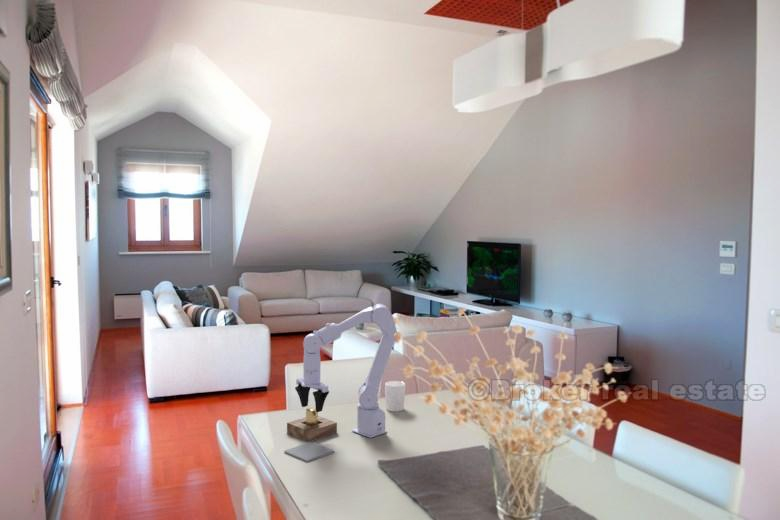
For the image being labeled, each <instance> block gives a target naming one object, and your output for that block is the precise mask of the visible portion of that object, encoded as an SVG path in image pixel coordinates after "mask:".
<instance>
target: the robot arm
mask: <svg viewBox="0 0 780 520" xmlns="http://www.w3.org/2000/svg"><path fill="white" fill-rule="evenodd" d="M372 321H373V322H374V324H375V325H376V326H377V327H378V328H379V330H380V331H381V333H382V334H381V337H380V341H379V343H378V345H377V346H378V347H377V349H376V352H375V355H374V358H373V359H372V362H371V366H370V368H369V371H368V373H367V376H366V378H365V379H364V383H362V385H361V386H360V387H358V397H359V398H358V400H359V401H358V403H357V408H356V409H357V410H356V411H357V419H356V420H357V421H356V422H357V423H356V425H357V426H356V428H353V429H351V432H353V433H355V434H359V435H361V436H363V437H364V436H365V437H367V438H370V439H371V438H376V437H377V436H380V435H383V434H386V433H387V432H388V431H387V430H386V413H385V411H384V410H383V409H381V408H380V406H379V403H378V400H379V397H378V393H379V390H380V384H381V380H382V378H383V375H384V373H385V369H386V367H387V365H388V364H387V363H388V361H389V359H390V355H391V353H392V351H393V350H392V349H393V347H394V344H395V342H396V339H394V334H395V333H397V334H398V331H397V327H396V326H397V325H396V323H395V319H394V316H393V314H392V311H390V309H389V308H388V307H387V305H386V304H384V303H375V304H374V305H373V306H369V307H366V308H364V309H362V310H361V311H359V312H356V314H354V315H352V316H350V317H348V318H347V319H345V320H343V321H341V322H339V323H334V322H332V323H330V322H327V323H326V324H325V326H324V327H321V328H320V329H318V330H313V331H312V333H309V334H307V335H306V336H305V337H304V339H303V342H302V346H303V349H304V350H303V367H302V368H303V377H299V378H296V381H295V382H296V385H297V386H295V388H294V390H295V391H296V392H297V395H298V398H299V401H300V405H301V407H302V408H305V407H308V405H309V395H310V390H311V389H314V390H315V391H312V395H313V397H314V402H315V405H314V406H315V408H316V412H318V413H319V412H322V411H323V408H324V405H325V401H326V399H327V396H328V395H329V393H330V391H329V385H327V384H325V383H324V382H322V381H321V355H320V354H321V353H320V351H321V350H320V349H321V347H326V346H327V345H329V344H331V343H333V342H335V341H337V340H339V339H341V337H342V334H343V333H344V332H346V331H348V330H350V329H353V328H355V327H357V326H359V325H361V324H363V323H364V324H370V325H371V324H372Z"/></svg>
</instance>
